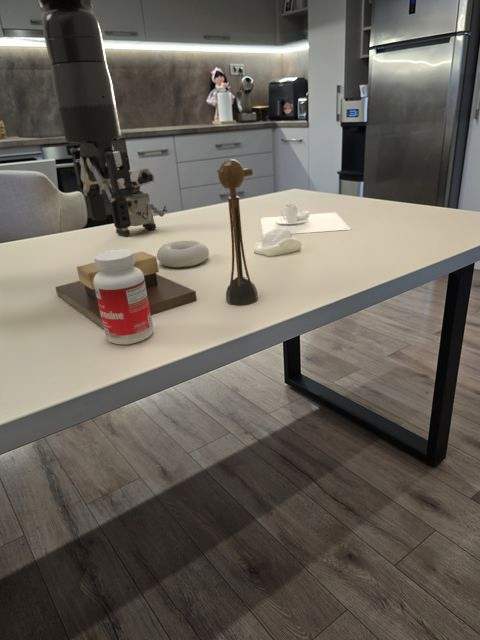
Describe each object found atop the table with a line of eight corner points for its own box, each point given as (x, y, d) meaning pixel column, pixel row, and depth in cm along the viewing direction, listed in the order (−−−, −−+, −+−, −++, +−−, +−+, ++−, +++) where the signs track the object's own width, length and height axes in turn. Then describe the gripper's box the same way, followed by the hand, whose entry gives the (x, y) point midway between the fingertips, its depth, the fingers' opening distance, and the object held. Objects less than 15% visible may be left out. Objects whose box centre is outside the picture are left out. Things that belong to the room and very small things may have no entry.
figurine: (139, 240, 112) (126, 172, 105) (113, 234, 119) (100, 170, 113) (170, 232, 118) (161, 167, 111) (144, 226, 125) (134, 165, 118)
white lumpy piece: (292, 234, 89) (244, 233, 92) (293, 258, 91) (246, 256, 94) (306, 222, 97) (261, 222, 100) (307, 244, 99) (263, 243, 102)
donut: (213, 254, 97) (164, 255, 98) (211, 237, 96) (162, 239, 97) (205, 269, 88) (152, 270, 89) (203, 251, 87) (149, 252, 88)
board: (104, 329, 66) (101, 319, 65) (57, 295, 80) (55, 286, 79) (196, 300, 74) (195, 291, 73) (139, 273, 88) (138, 265, 87)
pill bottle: (97, 338, 63) (77, 257, 58) (135, 322, 67) (119, 245, 62) (125, 350, 60) (106, 264, 55) (163, 332, 64) (149, 251, 59)
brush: (95, 302, 71) (88, 273, 69) (83, 294, 75) (76, 266, 73) (160, 283, 77) (156, 256, 75) (146, 277, 81) (142, 251, 79)
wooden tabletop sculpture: (248, 290, 77) (238, 155, 68) (268, 296, 74) (261, 156, 64) (220, 300, 73) (205, 160, 64) (240, 307, 70) (227, 161, 61)
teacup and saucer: (308, 217, 123) (308, 201, 121) (312, 224, 115) (312, 207, 114) (274, 220, 122) (273, 203, 121) (276, 227, 115) (275, 209, 114)
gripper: (135, 99, 62) (155, 225, 69) (93, 103, 72) (114, 213, 79) (78, 102, 58) (106, 236, 65) (42, 106, 68) (69, 222, 75)
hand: (111, 223), depth 72 cm, fingers open, 8 cm apart
